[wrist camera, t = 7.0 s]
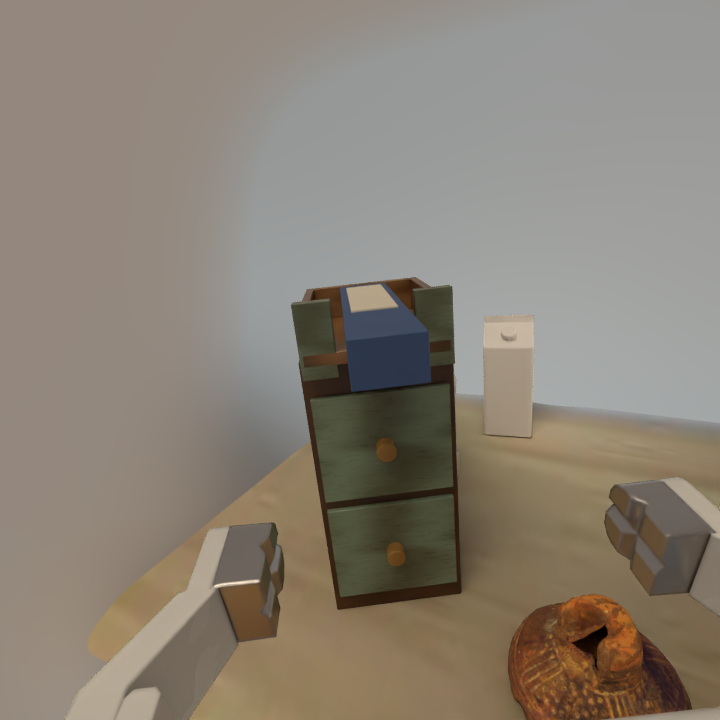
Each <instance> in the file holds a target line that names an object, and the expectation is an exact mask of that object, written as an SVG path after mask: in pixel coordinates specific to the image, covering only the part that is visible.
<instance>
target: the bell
mask: <svg viewBox="0 0 720 720" xmlns="http://www.w3.org/2000/svg"><path fill="white" fill-rule="evenodd" d="M508 673H509V678H510V682H511V689H512V692H513V695H514V698H515V699H516V700H517V701H518V702H519V703H521V705H522V707H523V709H524V712H525V715H526V718H527V720H602V719H611V718H620V717H629V716H638V715H647V714H656V713H666V712H675V711H684V710H692V708H691V703H690V700H689V698H688V695H687V693H686V691H685V688H684V686H683V684H682V682H681V680H680V678H679V676H678V675H677V673H676V671H675V669H674V668H673V666H672V665H671V664H670V662H669V661H668V660H667V659H666V657H665V656H664V655H663V654H662V653H661V652H660V651H659V649H658V648H657V647H655V646H654V645H653V644H652V643H651V642H650V641H649V640H648V638H646V637H645V636H644V635H643V634H641V633H640V632H639V631H638V630H637V628H636V626H635V624H634V622H633V621H632V619H631V617H630V615H629V614H628V613H627V611H626V610H625V609H624V608H623V607H622V606H620V605H619V604H617V603H616V602H614V601H613V600H611V599H609V598H607V597H605V596H602V595H596V594H592V595H588V596H586V595H583V596H580V597H577V598H571V599H570V600H569V601H567V602H566V603H557V604H554V605H548V606H544V607H541V608H538V609H536V610H535V611H534V612H533V613H531V614H530V615H529V616H528V617H527V618H526V619H525V620H524V621H523V622H522V624H521V626H520V627H519V628H518V630H517V631H516V633H515V635H514V637H513V639H512V642H511V647H510V651H509V657H508Z"/></svg>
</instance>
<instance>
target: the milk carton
mask: <svg viewBox="0 0 720 720" xmlns="http://www.w3.org/2000/svg"><path fill="white" fill-rule="evenodd" d="M483 348H484V349H483V354H484V355H483V356H484V357H483V358H484V434H488V435H502V436H516V437H531V431H532V396H533V366H534V315H513V316H512V315H509V316H485V324H484V345H483Z"/></svg>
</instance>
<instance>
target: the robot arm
mask: <svg viewBox="0 0 720 720" xmlns="http://www.w3.org/2000/svg"><path fill="white" fill-rule="evenodd" d="M609 498H610V499H611V501H612V502H613V503H614V504H613V505H612V506H611V507H610V508H609V509H608V510H607V511H606V514H605V521H604V523H605V528H606V533H607V535H608V537H609V540H610V542H611V543H612V545H613V546H614V548H615V549H616V551H617V552H618V553H620V554H621V555H623V556H625V557H626V558H628V559H630V570H631V571H632V573H633V574H634V575H635V577H636V578H637V579H638V581H639V582H640V584H641V585H642V586H643V588H644V589H645V590H646V592H647V593H648V594H649V596H656V595H668V594H681V593H689V596H691V597H692V598H694V599H695V600H696V601H698V602H699V603H701V604H702V605H704V606H705V607H706V608H708V609H709V610H711V611H712V612H714V613H715V614H716V615H718V616H719V617H720V510H719V509H718V508H717V507H716V506H715V505H713V504H712V503H711V502H710V501H709V500H708V499H707V498H706V497H705V496H703V495H702V494H701V493H700V492H699V491H698V490H697V489H696V488H694V487H693V486H692V485H691V484H690V483H689V482H688V481H686V480H684V479H682V478H680V477H676V478H668V479H659V480H650V481H642V482H634V483H625V484H617V485H614V486H613V487H612V489H611V491H610V495H609ZM277 536H278V532H277V529H276V525H275V523H261V524H249V525H237V526H230V527H218V528H211V529H210V530H209V531H208V533H207V534H206V536H205V539H204V542H203V545H202V548H201V550H200V553H199V556H198V559H197V561H196V564H195V567H194V570H193V572H192V575H191V578H190V581H189V583H188V586H187V589H186V591H184V592H179V593H178V594H177V595H176V596H175V597H174V598H173V599H172V600H171V601H170V602H169V603H168V604H167V605H166V606H165V607H164V608H163V609H161V610H160V611H159V612H158V613H157V614H156V615H155V616H154V617H153V618H152V619H151V620H150V621H149V622H148V623H147V624H146V625H145V626H144V627H143V628H142V629H141V630H140V631H139V632H138V633H137V634H136V635H135V636H134V637H133V638H132V639H131V640H130V641H129V642H128V643H127V644H126V645H125V646H124V647H123V648H122V649H121V650H120V651H119V652H118V653H117V654H116V655H115V656H114V657H113V658H112V659H111V660H110V661H109V662H108V663H107V664H106V665H105V666H104V667H103V668H102V669H101V670H100V671H99V672H98V673H97V674H96V675H95V676H94V677H93V678H92V679H91V680H90V681H89V682H88V683H87V684H86V685H85V686H84V687H83V688H82V689H81V690H80V691H79V692H78V693H77V694H76V696H75V698H74V700H73V702H72V704H71V706H70V708H69V710H68V712H67V714H66V716H65V718H64V720H189V718H190V717H191V715H192V714H193V712H194V711H195V709H196V708H197V706H198V705H199V703H200V702H201V700H202V699H203V697H204V696H205V694H206V693H207V691H208V690H209V688H210V687H211V685H212V684H213V682H214V681H215V679H216V678H217V676H218V675H219V673H220V672H221V670H222V669H223V667H224V666H225V664H226V663H227V661H228V660H229V658H230V657H231V655H232V654H233V652H234V651H235V649H236V648H237V646H238V642H244V641H251V640H258V639H266V638H273V637H276V635H277V628H278V621H279V613H280V605H279V601H278V597H277V596H278V594H279V593H280V592H281V591H282V589H283V582H284V558H283V552H282V548H281V546H279V545H278V544H277ZM602 720H720V707H711V708H702V709H693V710H684V711H675V712H666V713H656V714H647V715H638V716H629V717H620V718H611V719H602Z"/></svg>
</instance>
